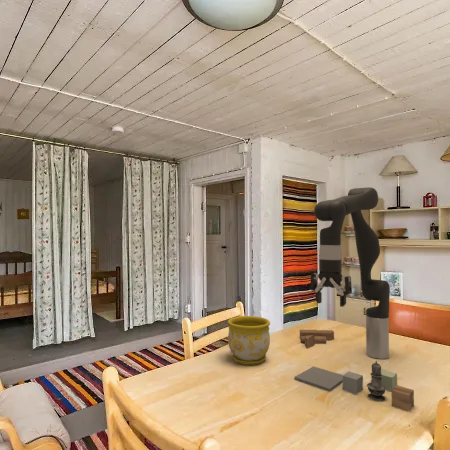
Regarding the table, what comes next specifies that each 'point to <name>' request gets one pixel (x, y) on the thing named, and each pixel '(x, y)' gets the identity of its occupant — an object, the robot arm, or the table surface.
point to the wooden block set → (315, 336)
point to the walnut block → (402, 398)
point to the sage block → (388, 379)
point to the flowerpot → (248, 339)
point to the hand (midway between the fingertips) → (330, 304)
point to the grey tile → (320, 378)
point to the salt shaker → (376, 384)
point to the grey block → (353, 382)
